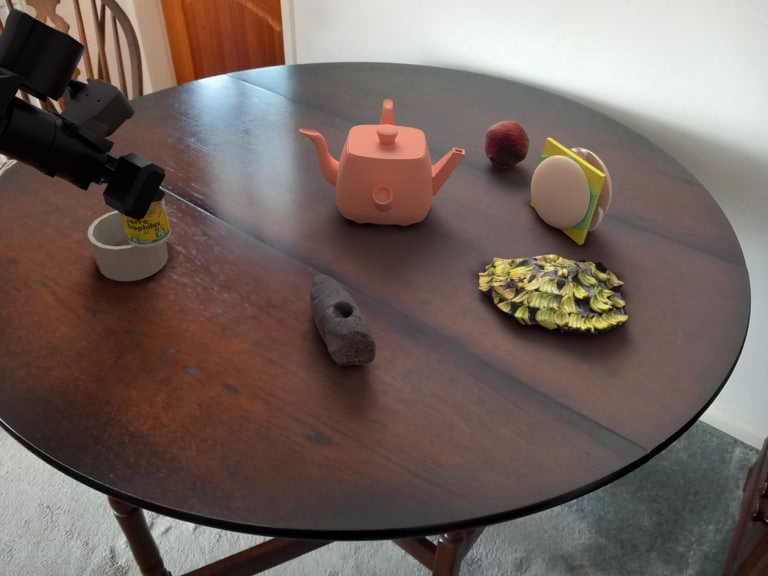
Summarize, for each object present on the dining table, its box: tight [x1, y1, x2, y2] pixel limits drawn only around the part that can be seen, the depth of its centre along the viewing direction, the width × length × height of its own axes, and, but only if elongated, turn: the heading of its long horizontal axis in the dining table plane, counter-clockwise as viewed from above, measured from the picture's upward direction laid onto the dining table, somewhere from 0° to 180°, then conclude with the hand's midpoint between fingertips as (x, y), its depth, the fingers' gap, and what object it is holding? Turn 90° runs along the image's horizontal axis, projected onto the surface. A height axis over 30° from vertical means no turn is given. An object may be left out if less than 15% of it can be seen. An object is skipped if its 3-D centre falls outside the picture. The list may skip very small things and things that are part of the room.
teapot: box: [298, 98, 466, 227], centre depth 94 cm, size 18×18×14 cm
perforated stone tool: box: [309, 273, 377, 367], centre depth 75 cm, size 15×5×7 cm, turn 22°
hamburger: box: [529, 137, 613, 246], centre depth 95 cm, size 12×8×12 cm
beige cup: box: [87, 210, 169, 282], centre depth 84 cm, size 9×9×6 cm
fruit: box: [484, 120, 530, 169], centre depth 108 cm, size 8×8×8 cm
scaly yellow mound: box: [478, 254, 630, 335], centre depth 84 cm, size 20×16×7 cm
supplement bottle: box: [120, 185, 172, 248], centre depth 76 cm, size 5×5×10 cm
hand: (148, 188), depth 76 cm, fingers closed on supplement bottle, 5 cm apart
